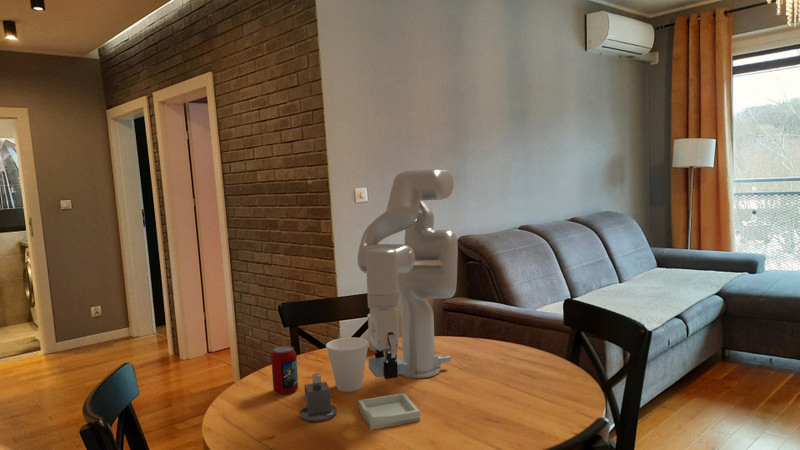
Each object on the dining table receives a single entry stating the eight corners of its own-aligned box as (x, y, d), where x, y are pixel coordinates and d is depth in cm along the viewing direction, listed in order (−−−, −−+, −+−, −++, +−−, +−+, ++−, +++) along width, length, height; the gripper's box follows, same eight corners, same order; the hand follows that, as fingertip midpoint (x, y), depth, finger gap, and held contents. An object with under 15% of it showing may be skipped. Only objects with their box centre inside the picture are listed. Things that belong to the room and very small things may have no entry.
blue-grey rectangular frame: (368, 368, 135) (368, 358, 135) (402, 363, 138) (401, 354, 138) (376, 377, 129) (375, 367, 129) (411, 372, 131) (410, 362, 131)
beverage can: (292, 396, 149) (290, 352, 148) (269, 395, 150) (266, 352, 149) (302, 387, 155) (299, 345, 154) (279, 386, 157) (277, 344, 156)
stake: (333, 404, 142) (331, 366, 141) (340, 418, 133) (337, 378, 133) (297, 410, 139) (295, 371, 138) (302, 425, 131) (300, 384, 130)
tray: (404, 402, 142) (404, 392, 142) (420, 420, 130) (419, 410, 130) (359, 409, 138) (358, 400, 138) (370, 429, 127) (370, 419, 127)
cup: (377, 381, 157) (375, 338, 156) (360, 397, 146) (358, 351, 145) (339, 377, 161) (337, 336, 160) (320, 393, 150) (318, 348, 149)
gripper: (359, 295, 139) (362, 364, 140) (377, 309, 123) (380, 387, 124) (388, 292, 141) (391, 360, 143) (409, 305, 125) (412, 382, 126)
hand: (386, 372), depth 133 cm, fingers closed on blue-grey rectangular frame, 7 cm apart
